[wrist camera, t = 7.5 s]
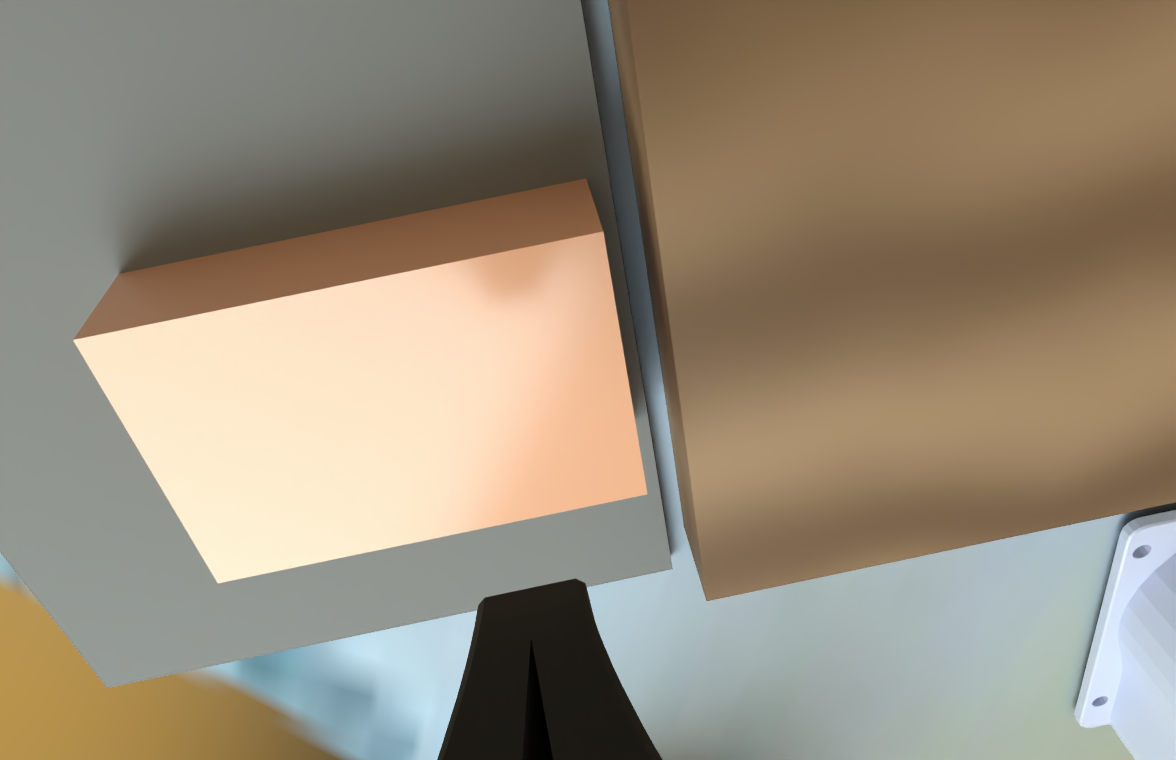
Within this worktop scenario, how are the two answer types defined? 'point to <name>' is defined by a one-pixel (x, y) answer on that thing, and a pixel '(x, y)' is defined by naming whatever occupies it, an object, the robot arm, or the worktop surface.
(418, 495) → the tile
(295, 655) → the worktop surface
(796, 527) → the brown wooden flat slab
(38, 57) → the mat
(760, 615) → the worktop surface
